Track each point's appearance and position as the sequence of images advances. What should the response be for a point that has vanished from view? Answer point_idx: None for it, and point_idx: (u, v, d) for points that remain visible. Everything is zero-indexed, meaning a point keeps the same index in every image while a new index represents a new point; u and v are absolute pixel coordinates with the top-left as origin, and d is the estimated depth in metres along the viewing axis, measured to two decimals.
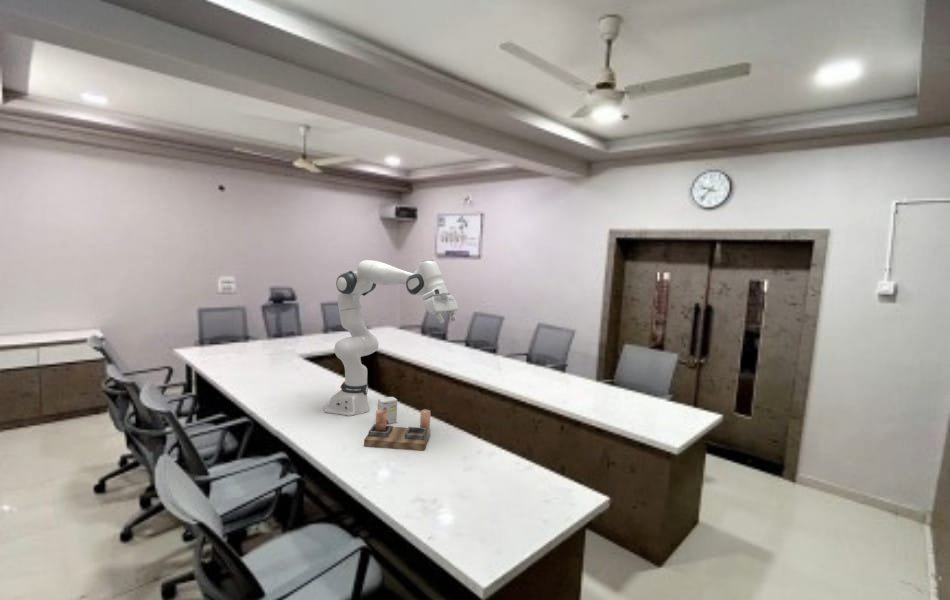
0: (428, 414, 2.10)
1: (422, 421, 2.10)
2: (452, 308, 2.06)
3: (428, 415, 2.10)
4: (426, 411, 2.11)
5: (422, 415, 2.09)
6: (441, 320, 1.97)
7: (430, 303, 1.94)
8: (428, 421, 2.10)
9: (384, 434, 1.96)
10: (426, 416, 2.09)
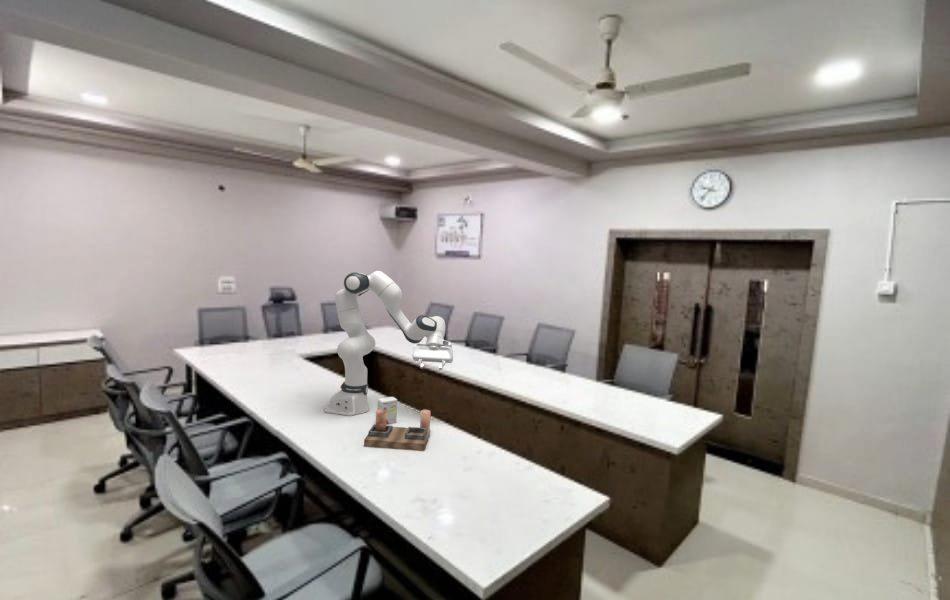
0: (428, 414, 2.10)
1: (422, 421, 2.10)
2: None
3: (428, 415, 2.10)
4: (426, 411, 2.11)
5: (422, 415, 2.09)
6: (442, 367, 2.22)
7: None
8: (428, 421, 2.10)
9: (384, 434, 1.96)
10: (426, 416, 2.09)
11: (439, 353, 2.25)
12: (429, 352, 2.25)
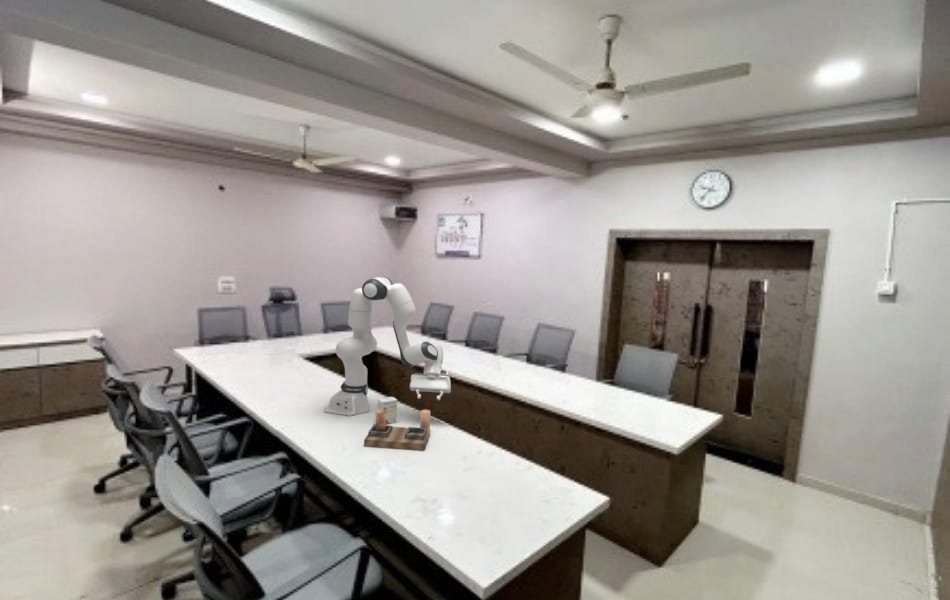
0: (428, 414, 2.10)
1: (422, 421, 2.10)
2: None
3: (428, 415, 2.10)
4: (426, 411, 2.11)
5: (422, 415, 2.09)
6: None
7: None
8: (428, 421, 2.10)
9: (384, 434, 1.96)
10: (426, 416, 2.09)
11: (437, 383, 2.22)
12: (426, 382, 2.22)
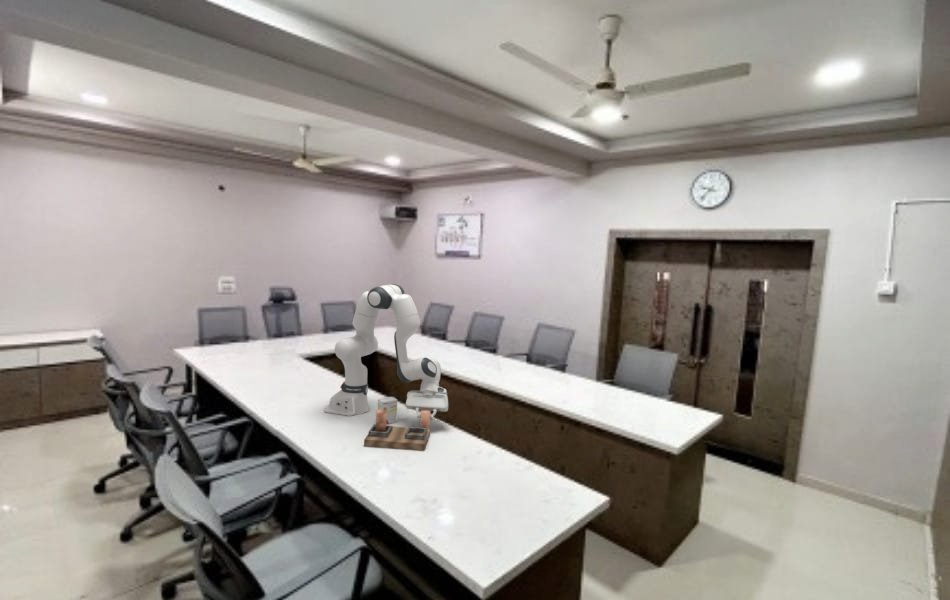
0: (428, 414, 2.10)
1: (422, 421, 2.10)
2: None
3: (428, 415, 2.10)
4: (426, 411, 2.11)
5: (422, 415, 2.09)
6: (433, 416, 2.12)
7: None
8: (428, 421, 2.10)
9: (384, 434, 1.96)
10: (426, 416, 2.09)
11: (434, 401, 2.14)
12: (423, 400, 2.15)
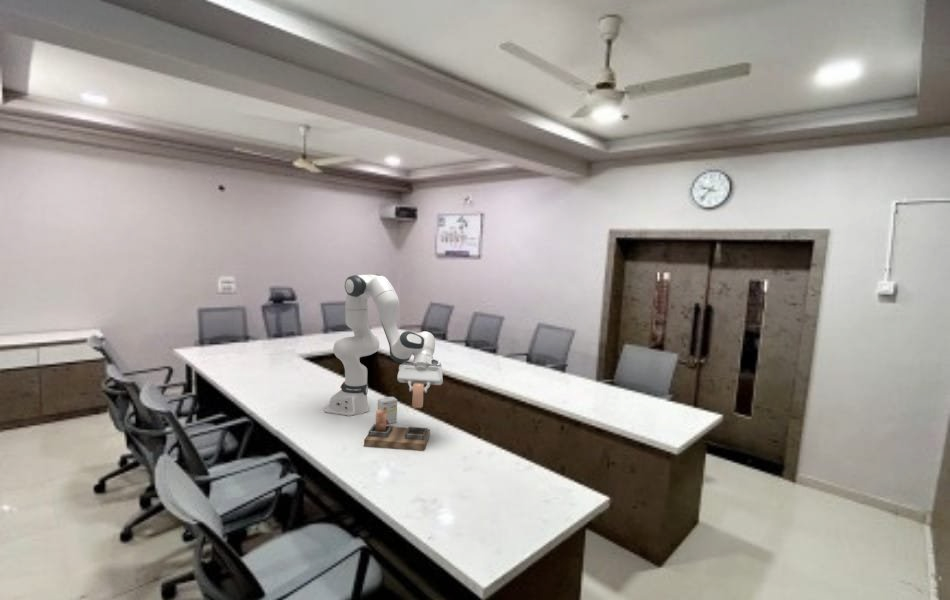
0: (421, 387, 1.96)
1: (415, 394, 1.96)
2: None
3: (421, 388, 1.96)
4: (419, 384, 1.97)
5: (415, 388, 1.96)
6: (426, 390, 1.98)
7: (442, 375, 2.03)
8: (421, 394, 1.97)
9: (384, 434, 1.96)
10: (419, 389, 1.96)
11: (428, 374, 2.01)
12: (415, 373, 2.01)
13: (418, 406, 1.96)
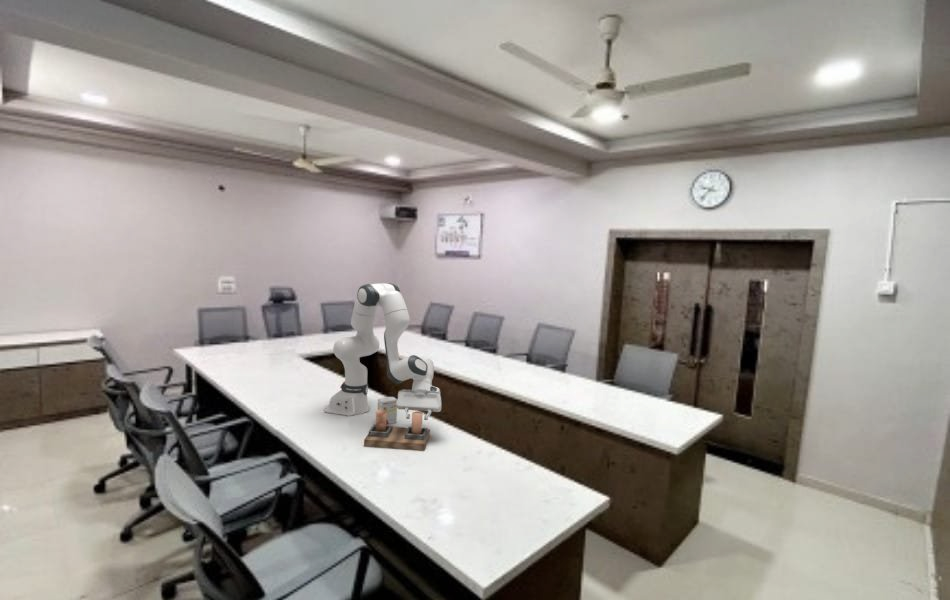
0: (420, 417, 1.98)
1: (413, 424, 1.98)
2: None
3: (420, 418, 1.98)
4: (418, 413, 1.99)
5: (413, 418, 1.97)
6: (427, 417, 1.99)
7: None
8: (420, 424, 1.98)
9: (384, 434, 1.96)
10: (418, 419, 1.97)
11: (426, 401, 2.02)
12: (414, 400, 2.02)
13: None
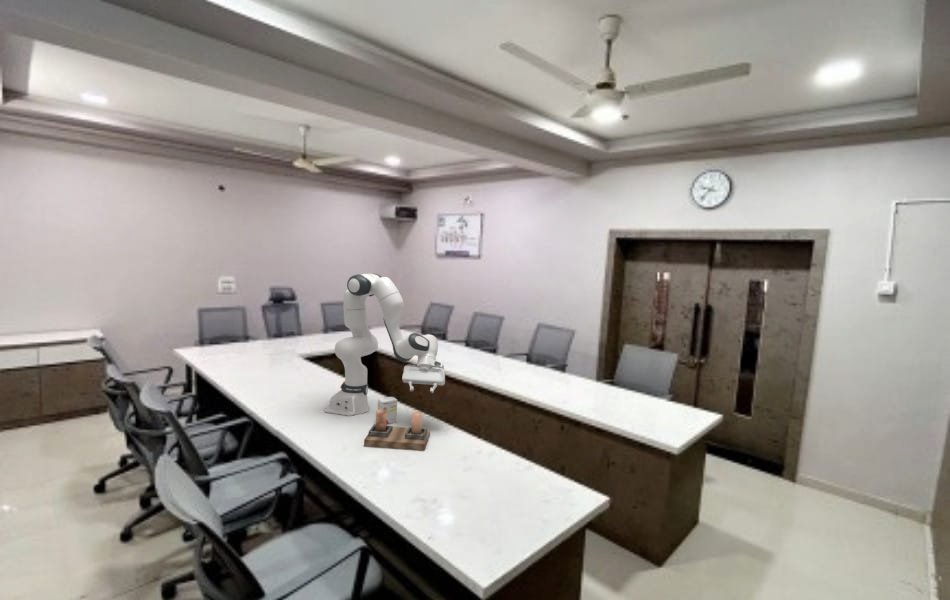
0: (420, 417, 1.97)
1: (413, 424, 1.98)
2: None
3: (420, 418, 1.98)
4: (418, 414, 1.99)
5: (413, 418, 1.97)
6: (433, 390, 2.10)
7: None
8: (420, 424, 1.98)
9: (384, 434, 1.96)
10: (418, 419, 1.97)
11: (431, 375, 2.13)
12: (419, 374, 2.13)
13: None
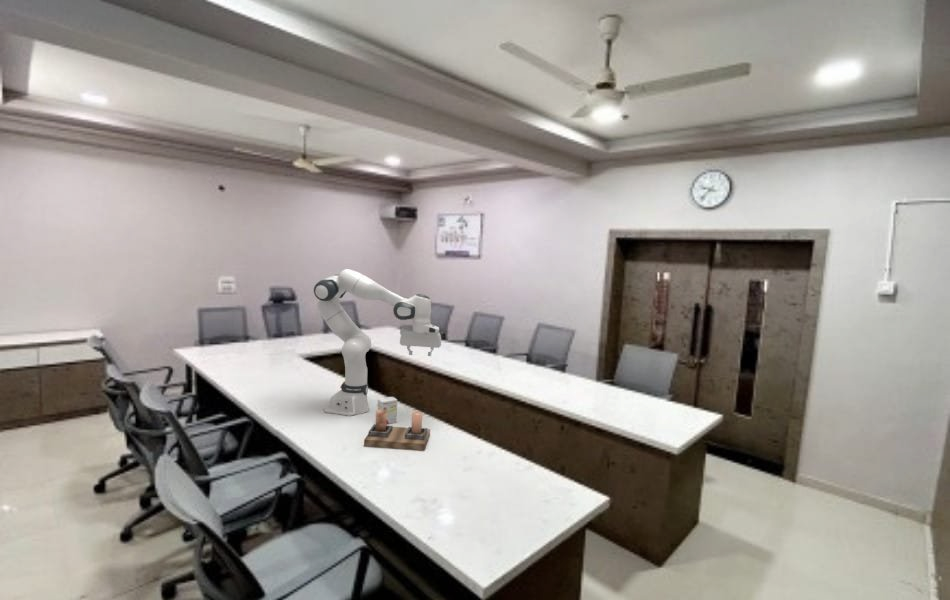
0: (420, 416, 1.98)
1: (413, 424, 1.98)
2: None
3: (420, 417, 1.98)
4: (418, 413, 1.99)
5: (413, 417, 1.98)
6: None
7: (440, 338, 2.22)
8: (420, 424, 1.98)
9: (384, 434, 1.96)
10: (417, 419, 1.97)
11: (427, 341, 2.20)
12: (416, 339, 2.20)
13: None
